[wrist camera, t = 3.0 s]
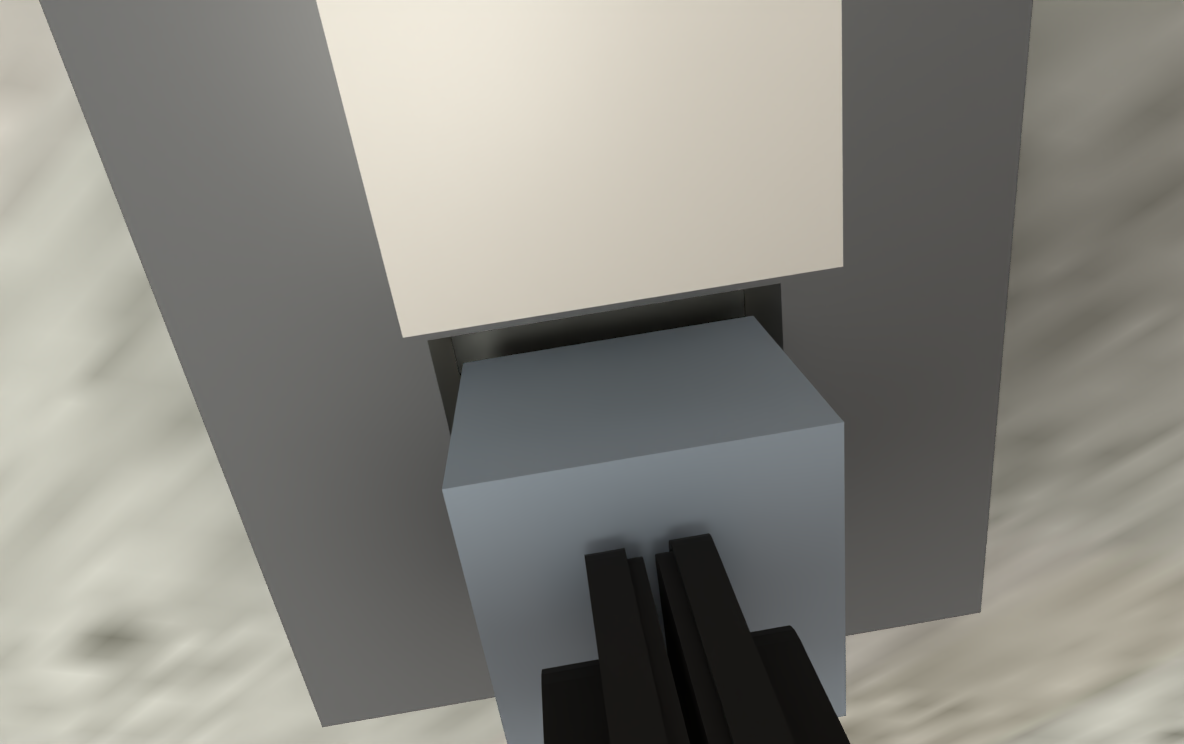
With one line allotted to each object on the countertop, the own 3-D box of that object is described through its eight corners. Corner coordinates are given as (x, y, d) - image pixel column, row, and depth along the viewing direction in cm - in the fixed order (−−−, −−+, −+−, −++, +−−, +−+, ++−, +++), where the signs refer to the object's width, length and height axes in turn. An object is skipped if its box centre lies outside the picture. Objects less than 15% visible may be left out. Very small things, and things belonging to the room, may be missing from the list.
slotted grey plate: (998, -1156, 9) (1167, -1572, 7) (923, 541, 19) (980, 612, 16) (-233, -1015, 8) (-507, -1401, 6) (347, 640, 18) (322, 727, 16)
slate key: (753, 315, 13) (843, 422, 9) (766, 552, 15) (845, 715, 12) (463, 363, 13) (441, 489, 9) (515, 594, 15) (514, 774, 11)
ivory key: (725, -172, 10) (839, -289, 7) (746, 199, 12) (843, 266, 9) (354, -118, 10) (263, -206, 7) (437, 248, 12) (402, 337, 9)
